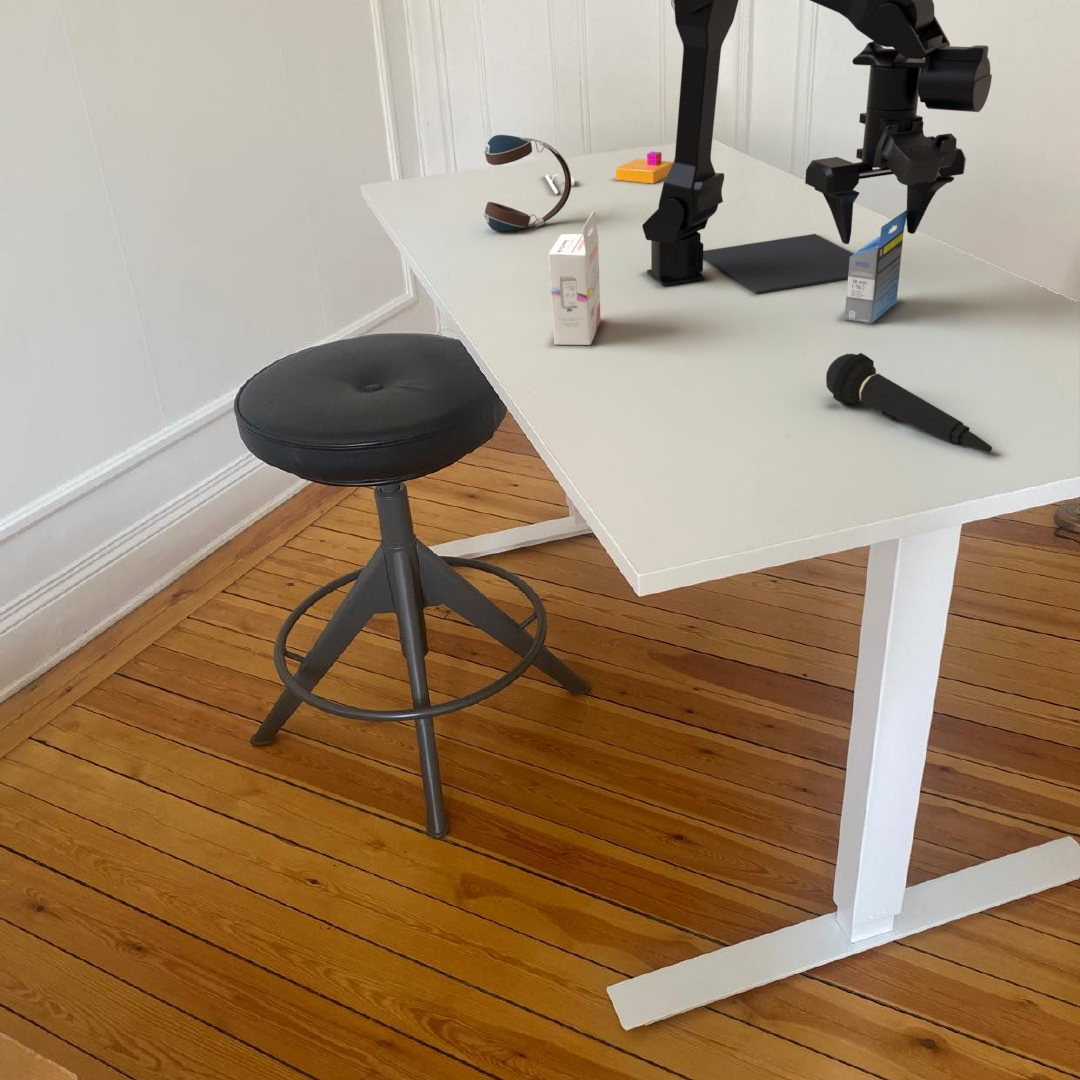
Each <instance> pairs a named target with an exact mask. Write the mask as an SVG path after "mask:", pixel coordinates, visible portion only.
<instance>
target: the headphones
mask: <svg viewBox="0 0 1080 1080" xmlns="http://www.w3.org/2000/svg"><path fill="white" fill-rule="evenodd" d="M532 141H533V142H534V143H535V146H536V151H537V153H541V152H543V150H544V149H547V150H548V151H550V152H551V153H552V154H553V156H554V157H555V158H556V159H557V161H558V163H559V164H560V166H561V168H562V171H563V175H564V177H565V178H564V189H563V193H562V194H561V196H560V198H559V201H557V203H556V205H555V206H554V207H552V209H551V210H550V211H549V212H548V213H547V214H545V215H544V216H543V217H537V216H536V215H535V214H533V213H531V215H529V214H527V213H525V212H523V211H520V210H518V209H515V208H512V207H510V206H506V205H504V204H500V203H498V202H493V201H488V202H487V203H486V205H485V210H484V215H483V217H484V218H485V222H486V223H487V225H488V226H489V228H490V229H491V230H493V231H496V232H510V231H517V230H521V229H525V228H530V227H535V228H538V227H541V226H543V225H545V224H546V222H547V221H549V220H550V219H552V218H554V216H556V215H557V214H558V213H559V212H560V211H561V210H562V209H563V208H564V207H565V205H566V203H567V201H568V199H569V197H570V195H571V190H572V186H571V176H572V174H571V171H570V167H569V164H568V163H567V161H566V160H565V158H564V157H563V156H562V155H561V154H560V152H558V150H556V148H554V147H553V146H552V145H551V144H549V143H547V142H544V141H542V140H538V139H535V138H531V137H530V138H529V137H521V136H515V135H508V134H496V135H494V136H492V137H491V138H489V140H488V141H487V143H486V145H485V148H484V151H483V154H484V155H485V160H486V162H487V163H488V164H489V165H492V166H501V165H505V164H509V163H513V162H516V161H519V160H522V159H524V158H526V157H527V156H530V155H531V154H532V153H533V146H532ZM537 143H538V144H539V145H540V146H541V147H543V148H542V149H541V150H540V151H539V148H538V144H537ZM532 216H534V218H535V220H534V221H533V222H532V224H530V222H531V218H532Z"/></svg>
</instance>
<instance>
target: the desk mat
mask: <svg viewBox="0 0 1080 1080" xmlns="http://www.w3.org/2000/svg"><path fill="white" fill-rule="evenodd" d="M853 254H854V253H853V252H851V251H849V250H847V249H846V248H844V247H841V246H839V245H838V244H836V243H834V242H832V241H830V240H827V239H826V238H824V237H822V236H820V235H818V234H816V233H813V234H812V233H811V234H805V235H798V236H792V237H785V238H779V239H772V240H766V241H765V240H764V241H760V242H753V243H747V244H740V245H735V246H734V245H733V246H725V247H720V248H713V249H706V250H703V261H706V262H707V263H709V264H710V265H712V266H713V267H715V268H716V269H717V270H719V271H721V272H722V273H724V274H725V275H727V276H728V277H730V278H731V279H733V280H734V281H736V282H737V283H739V284H741V285H742V286H743V287H745V288H746V289H748V290H749V291H751V292H753V293H754V294H755V295H759V294H765V293H771V292H778V291H784V290H790V289H795V288H801V287H809V286H814V285H820V284H826V283H833V282H839V281H844V280H848V272H849V261H850V257H851V256H852V255H853Z"/></svg>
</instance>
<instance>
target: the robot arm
mask: <svg viewBox="0 0 1080 1080" xmlns="http://www.w3.org/2000/svg"><path fill="white" fill-rule="evenodd" d="M809 1H810V2H813V3H815V4H817V5H819V6H821V7H824V8H826V9H828V10H831V11H833V12H835V13H838V14H840V15H841V16H842V17H844V18H846V19H847V20H848V21H849V22H850V24H852V26H853V27H854V28H855V29H856V30H857V31H859V32H860V33H861V34H863V35H864V36H865V37H867V38H869V39H870V40H872V41H870V42H868V43H867V44H866V46H865V47H864V48H863V50H862V51H861V52H860V53H859V54H857V55H856V56H855V57H854V58H852V60H851V61H852V64H853V65H855V66H869V68H870V69H869V78H868V86H867V87H868V89H867V97H866V98H867V99H866V110H865V112H861V113H859V121H858V122H859V124H863V125H864V132H863V144H862V148H856V155H855V158H856V159H859V160H861V161H859V162H852V161H849V160H846V159H843V158H841V157H839V156H833V157H826V158H819V159H812V160H811V161H810V162H809V164H808V166H807V167H806V169H805V181H804V184H805V185H807V186H810V187H812V188H814V190H815V191H817V192H819V193H822V195H823V197H824V199H825V202H826V203H827V205H828V207H829V210H830V212H831V215H832V218H833V221H834V223H835V227H836V228H837V232H838V234H839V237H840V240H841V243H843V244H844V245H849V244H850V241H851V237H852V236H851V235H852V228H853V227H852V226H853V215H854V214H853V213H854V203H855V202H856V200H857V198H858V197H859V195H860V191H857V190H854V189H855V188H856V187H857V186H858V184H859V183H860V180H863V179H869V178H876V177H883V176H884V177H885V176H890V175H891V176H892V175H894V176H895V177H896V180H897V181H898V182H899V183H900V184H902V185H904V186H906V189H907V190H906V210H907V209H908V211H907V217H906V230H907V233H908V234H910V235H913V234H916V232H917V229H918V228H919V226H920V223H921V221H922V219H923V217H924V215H925V214H926V211H927V209H928V207H929V205H930V204H931V202H932V199H933V198H934V197H935V195H936V193H937V192H938V191H939V190H940V189H942V187H944V186H946V185H947V184H949V183H952V182H953V181H954V180H955V177H954V176H960V175H961V176H962V175H964V173H965V168H966V161H967V158H966V156H965V152H964V151H963V149H962V148H959V147H957V142H958V141H957V137H956V136H954V134H952V133H951V132H950V133H943V134H937V135H936V136H934V135H931V136H926V135H925V133H924V121H923V119H924V116H921V115H917V113H918V104H919V101H920V103H924V105H925V107H926V108H927V109H928V110H939V111H940V110H941V111H955V112H969V113H980V112H981V110H982V109H983V108H984V107H985V104H986V102H987V100H988V97H989V93H990V90H991V86H992V78H993V74H991V63H990V59H989V57H988V55H989V50H990V49H989V46H988V45H972V46H955V45H954V46H953V45H952V46H951V43H950V41H949V39H948V37H947V35H946V33H945V32H944V30H943V28H942V26H941V25H940V23H939V21H938V19H937V17H936V15H935V3H934V0H809ZM738 4H739V0H673V7H674V8H673V9H674V22H675V27H676V29H677V32H678V34H679V37H680V40H681V42H682V61H681V73H680V74H681V75H680V88H679V99H678V111H677V113H678V114H677V126H676V138H675V151H674V159H673V161H672V162H673V164H672V166H671V169H670V171H669V173H668V175H667V177H666V178H664V181H663V183H662V188H661V193H660V196H659V201H658V206H657V207H658V208H657V209H656V210H655V211H654V212H653V213H652V215H650V216H649V218H648V219H646V220H645V222H644V223H643V224H642V225H641V226H642V230H643V231H642V232H643V233H644V237H645V239H646V240H647V241H650V247H651V250H650V252H651V253H650V254H651V260H650V264H651V266H650V267H651V268H650V269H647V270H646V274H647V275H648V276H649V277H651V278H652V279H653V280H654V281H656V282H657V283H658V284H660V285H661V286H664V287H665V286H672V285H678V284H685V283H691V282H698V281H703V280H705V278H706V277H705V274H703V273H702V272H703V271H704V259H703V251H704V243H703V242H702V241H701V237H702V236H701V235H702V234H701V232H699V231H702V230H705V228H706V227H707V224H708V221H709V219H710V218H711V217H712V216H714V214H715V213H716V212H717V210H718V207H719V205H720V204H722V203H723V202H724V199H723V195H722V194H723V185H724V181H725V173H723V172H716V171H715V168H714V165H713V162H712V147H713V137H714V125H715V115H716V104H717V95H718V86H719V85H718V84H719V76H720V75H719V74H720V65H721V64H720V63H721V53H722V48H723V43H724V41H725V39H726V38H727V35H728V33H729V31H730V29H731V27H732V26H733V25H732V24H733V23H734V20H735V16H736V13H737V8H738ZM884 47H886V48H884Z"/></svg>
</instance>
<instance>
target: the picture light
mask: <svg viewBox="0 0 1080 1080" xmlns="http://www.w3.org/2000/svg"><path fill="white" fill-rule="evenodd" d="M557 176H559V174H558V173H555V174H554V175H553V176H552V177H550V175H549V174H546V175H545V179H546V180H547V182H548V184H549V185H550V187H551V189H552V190H553V193H554V194H555V195H558V194H559V190H558V188H557V187H556V185H555V184H554V181H553V180H554V179H555V177H557ZM560 176H562V177H563V178H564V179H565V175H564V174H562V173H560ZM573 186H575V179H574V178H573V176H572V175H571V187H573Z"/></svg>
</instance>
